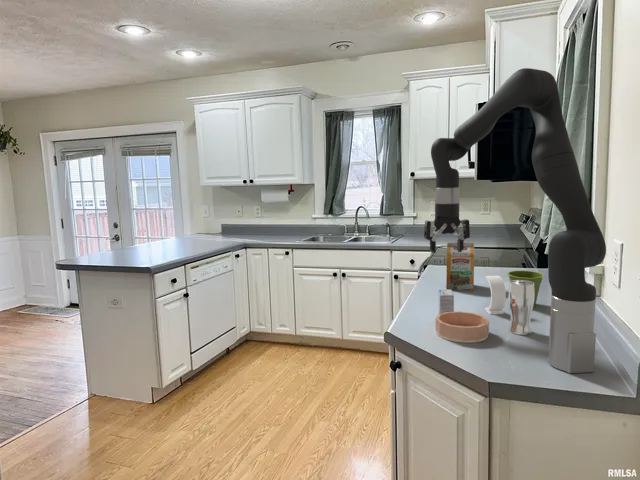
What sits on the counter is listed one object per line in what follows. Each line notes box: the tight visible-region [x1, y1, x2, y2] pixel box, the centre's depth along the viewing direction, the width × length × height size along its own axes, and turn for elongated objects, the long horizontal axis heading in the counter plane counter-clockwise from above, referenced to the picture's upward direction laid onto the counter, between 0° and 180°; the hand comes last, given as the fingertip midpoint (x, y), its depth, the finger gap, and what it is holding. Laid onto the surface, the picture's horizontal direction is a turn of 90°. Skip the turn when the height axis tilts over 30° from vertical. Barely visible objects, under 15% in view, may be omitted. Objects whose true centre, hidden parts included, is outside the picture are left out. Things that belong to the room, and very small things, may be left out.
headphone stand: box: [484, 275, 507, 315], centre depth 150 cm, size 5×6×12 cm
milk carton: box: [445, 241, 475, 292], centre depth 184 cm, size 11×11×19 cm
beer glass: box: [508, 280, 535, 336], centre depth 131 cm, size 7×7×15 cm
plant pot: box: [507, 269, 545, 307], centre depth 158 cm, size 12×12×11 cm
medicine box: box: [438, 288, 455, 314], centre depth 146 cm, size 8×4×9 cm, turn 168°
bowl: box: [435, 311, 490, 344], centre depth 131 cm, size 15×15×4 cm
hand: (446, 252), depth 144 cm, fingers open, 8 cm apart
